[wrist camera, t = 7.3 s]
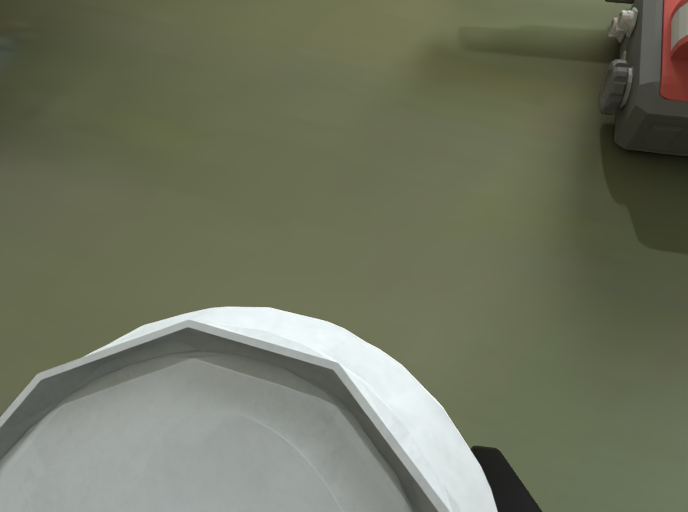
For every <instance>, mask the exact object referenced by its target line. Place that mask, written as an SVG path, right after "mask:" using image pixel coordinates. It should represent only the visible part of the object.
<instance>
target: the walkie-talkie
mask: <svg viewBox="0 0 688 512" xmlns="http://www.w3.org/2000/svg"><path fill="white" fill-rule="evenodd" d="M605 1H606V2H615V3H627V4H633V6H632V8H631V10H630V11H621V13H620V14H619V17H618V18H613V20H612V22H611V24H610V29H609V33H608V37H609V38H616V39H617V40H618V42H620V57H619V59H615V60H613V61H612V62H611V63H610V64H609V66H608V68H607V70H606V73H605V76H604V79H603V83H602V87H601V91H600V97H599V108H600V111H601V113H603V114H608V115H612V114H613V113H615V112H616V119H615V135H614V142H615V143H617V144H618V145H620V146H621V147H622V148H624V149H627V150H636V151H644V152H653V153H661V154H670V155H678V156H687V157H688V0H605Z"/></svg>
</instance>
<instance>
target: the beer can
mask: <svg viewBox="0 0 688 512" xmlns="http://www.w3.org/2000/svg"><path fill="white" fill-rule="evenodd" d="M0 512H498V511H497V508H496V504H495V501H494V498H493V494H492V491H491V488H490V486H489V484H488V481H487V479H486V477H485V474H484V472H483V470H482V468H481V466H480V464H479V462H478V461H477V459H476V458H475V456H474V455H473V453H472V452H471V450H470V449H469V447H468V445H467V444H466V442H465V441H464V439H463V438H462V436H461V435H460V433H459V431H458V430H457V428H456V427H455V425H454V424H453V422H452V421H451V419H450V418H449V416H448V414H447V413H446V411H445V410H444V408H443V407H442V405H441V404H440V403H439V402H438V401H437V400H436V399H435V398H434V397H433V396H432V395H431V394H430V393H429V392H428V391H427V390H426V389H425V388H424V387H423V386H422V385H421V384H420V383H419V382H418V381H417V380H416V379H415V378H414V377H413V376H412V375H411V374H410V373H409V372H408V371H407V370H406V369H405V368H404V366H403V365H401V364H400V363H398V362H397V361H396V360H394V359H393V358H391V357H390V356H389V355H387V354H386V353H384V352H383V351H382V350H380V349H378V348H376V347H375V346H373V345H371V344H369V343H367V342H365V341H363V340H362V339H360V338H359V337H357V336H355V335H354V334H352V333H351V332H349V331H347V330H346V329H344V328H342V327H339V326H337V325H334V324H332V323H329V322H327V321H323V320H319V319H315V318H311V317H307V316H303V315H298V314H294V313H290V312H286V311H282V310H278V309H273V308H267V307H217V308H209V309H204V310H200V311H195V312H191V313H186V314H182V315H179V316H175V317H172V318H168V319H164V320H161V321H157V322H154V323H150V324H146V325H143V326H141V327H139V328H137V329H136V330H134V331H132V332H130V333H128V334H126V335H124V336H123V337H121V338H119V339H117V340H115V341H113V342H111V343H110V344H108V345H106V346H104V347H102V348H100V349H98V350H96V351H93V352H92V353H90V354H88V355H86V356H84V357H82V358H80V359H77V360H74V361H71V362H69V363H66V364H63V365H60V366H57V367H55V368H52V369H49V370H46V371H44V372H41V373H38V374H37V375H36V376H35V377H34V379H33V380H32V381H31V382H30V383H29V384H28V386H27V387H26V388H25V389H24V390H23V391H22V393H21V394H20V395H19V396H18V397H17V398H16V400H15V401H14V402H13V403H12V404H11V405H10V407H9V408H8V409H7V410H6V411H5V412H4V414H3V415H2V416H1V417H0Z"/></svg>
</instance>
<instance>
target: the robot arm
mask: <svg viewBox="0 0 688 512" xmlns="http://www.w3.org/2000/svg"><path fill="white" fill-rule="evenodd" d="M471 452H472V453H473V455H474V456H475V458H476V459H477V461H478V462H479V464H480V466H481V468H482V470H483V472H484V474H485V477H486V479H487V481H488V484H489V486H490V488H491V491H492V494H493V498H494V501H495V504H496V508H497V511H498V512H542V511H541V509H540V508H539V506H538V505H537V503H536V502H535V500H534V499H533V498H532V496H531V495H530V493H529V492H528V490H527V489H526V488H525V486H524V485H523V483H522V482H521V480H520V479H519V478H518V476H517V475H516V473H515V472H514V470H513V469H512V467H511V466H510V465H509V463H508V462H507V460H506V459H505V457H504V456H503V455H502V453H501V452H500V451H499V450H498V449H496V448H491V447H483V446H473V447H472V448H471Z"/></svg>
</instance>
